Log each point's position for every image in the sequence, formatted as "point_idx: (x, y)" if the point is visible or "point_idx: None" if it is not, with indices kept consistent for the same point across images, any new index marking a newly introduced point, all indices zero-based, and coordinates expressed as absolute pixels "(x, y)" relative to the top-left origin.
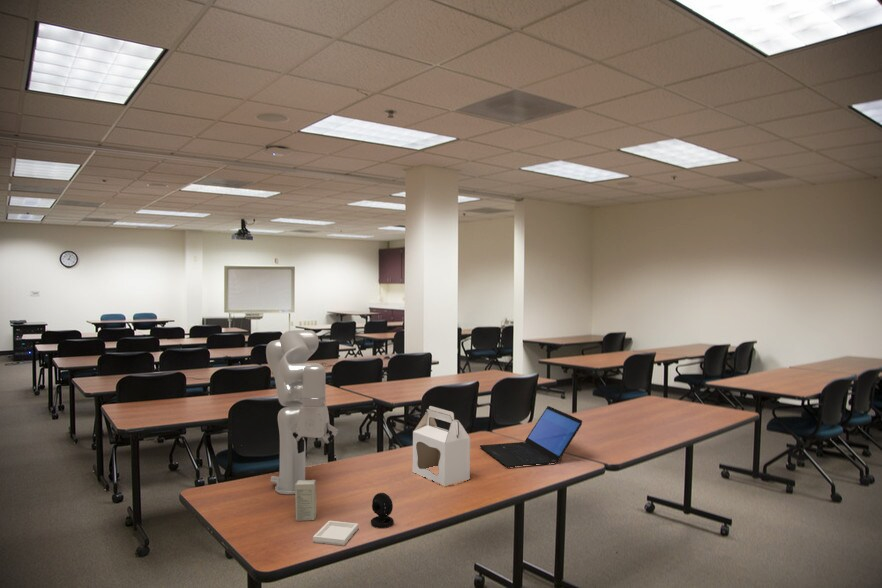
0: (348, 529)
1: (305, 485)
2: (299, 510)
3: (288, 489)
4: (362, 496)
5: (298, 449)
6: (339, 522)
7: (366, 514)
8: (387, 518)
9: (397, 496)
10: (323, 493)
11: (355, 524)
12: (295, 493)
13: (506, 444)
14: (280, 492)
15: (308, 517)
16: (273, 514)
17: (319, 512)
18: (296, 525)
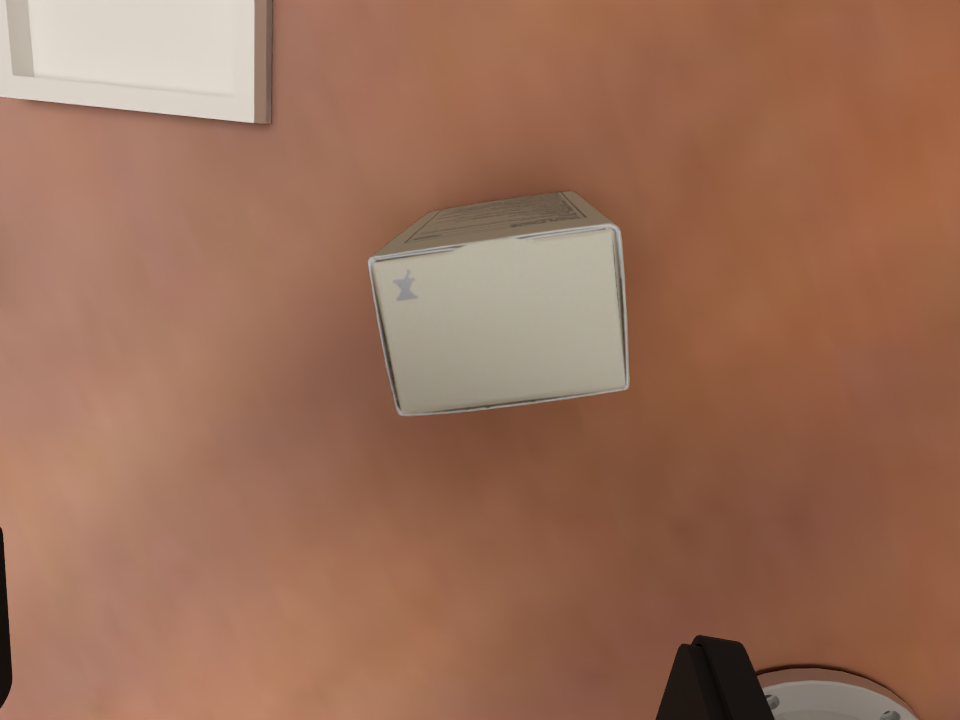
0: (72, 42)
1: (474, 238)
2: (546, 200)
3: (813, 714)
4: (236, 678)
5: (750, 706)
6: (153, 96)
7: (83, 380)
8: None
9: None
10: (532, 709)
11: (9, 74)
12: (600, 213)
13: None
14: (868, 684)
15: (468, 206)
16: (805, 294)
17: None
18: (538, 99)
